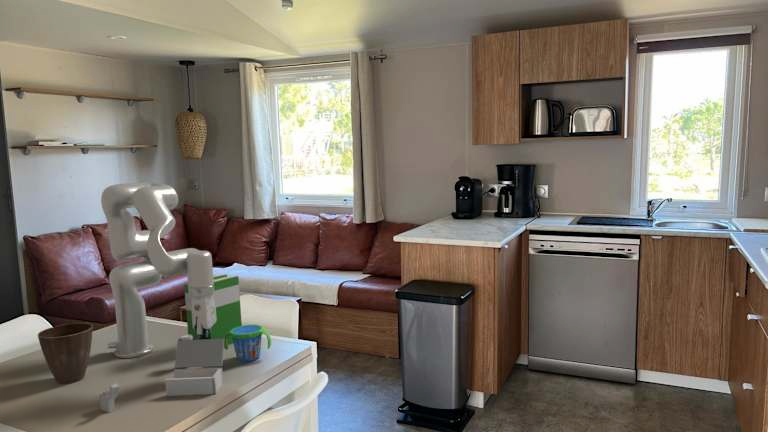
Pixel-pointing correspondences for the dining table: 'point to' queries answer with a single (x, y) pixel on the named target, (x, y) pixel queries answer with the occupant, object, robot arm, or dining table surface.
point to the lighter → (109, 398)
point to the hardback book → (220, 308)
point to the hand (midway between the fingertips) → (206, 348)
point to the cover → (199, 353)
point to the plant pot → (67, 350)
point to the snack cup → (247, 341)
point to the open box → (194, 381)
